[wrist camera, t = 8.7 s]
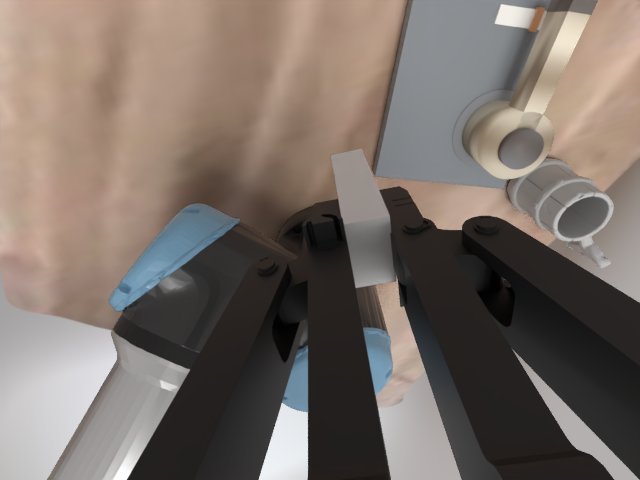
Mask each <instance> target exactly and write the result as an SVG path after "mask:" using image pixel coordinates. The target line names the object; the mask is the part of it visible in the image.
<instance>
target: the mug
mask: <svg viewBox="0 0 640 480" xmlns="http://www.w3.org/2000/svg"><path fill="white" fill-rule="evenodd" d="M507 192H508V195H509V198H510V199H511V202H512V204H513V206H514V207H515V208H516V209H517V210H518V211H520V212H523V213H525V214H528V215H530V216H531V217H532V218H533V219H534V221H535V223H536V224H537V225H538V226H539V227H540V228H541V229H544V230H547V231H550V232H551V233H552V234H553V235H555V236H556V237H557V238H559V239H560V240H562V241H563V243H564V244H565V245H566V246H567V247H568V248H570V249H574V251H575V252H577V253H579V254H581V255H583V256H585V257H586V258H589V259H591V260H593V261H594V262H595V263H596V264H597V265H598V266H599V267H600V268H603V267H605V266H607V265H609V264H610V263H611V262H610V261H609V260H608V259H607V258H606V257H604V255H603V253H602V251H601V250H600V249H599V248H598V247H597V246H596V245H595V244H594V243H593V241H592V237H591V236H592V235H594V234H595V233H596V232H598V231H599V230H600V229H602V228H603V227H604V226H605V225H606V223H607V222H608V220H609V219H610V218H611V216H612V213H613V209H614V206H613V202H612V201H611V199H610V198H609V197H608V195H606V194H605V193H603V192H602V191H600V190H599V189H598V188H597V186H596V185H595V183H593V181H592V180H591V179H589V178H585V177H581V176H578V175H577V174H575V173H574V172H573V171H572V169H571V168H570V167H569V165H568V164H567V163H565V162H562V161H560V160H557V159H551V158H545V159H544V160H543V161H542V163H541V164H540V165H539V166H538V167H536V168H535V169H534V170H532V171H531V172H529V173H528V174H526V175H523V176H521V177H518V178H514V179H511V180H510V181H509V184H508V187H507Z"/></svg>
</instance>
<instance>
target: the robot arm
mask: <svg viewBox="0 0 640 480" xmlns="http://www.w3.org/2000/svg"><path fill="white" fill-rule="evenodd" d="M331 159H332V165H333V171H334V177H335V183H336V189H337V195H338V199H336V200H331V201H326V202H321V203H316V204H315V205H314V206H313V207H310V208H307V209H305V210H302V211H300V212H298V213H297V214H295V215H294V216H292V217H291V218H290V219H289V220H288V221H287V222H286V223H285V224H284V226H283V227H282V229H281V230H280V232H279V235H278V238H277V242H275V241H273V240H272V239H270V238H268V237H266V236H265V235H263V234H261V233H259V232H258V231H256V230H254V229H252V228H250V227H249V226H247V225H245V224H243V223H242V222H240V221H241V220H240V219H239V218H232V217H230V216H228V215H226V214H224V213H222V212H220V211H218V210H216V209H214V208H212V207H211V206H209V205H206V204H201V203H195V204H191V205H188V206H186V207H185V208H183V209H182V210H181V211H180V212H179V213H178V214H177V215H176V216H175V217H174V218H173V219H172V220H171V221H170V222H169V223H168V224H167V225H166V226H165V228H164V229H163V230H162V231H161V232H160V233H159V234H158V236H157V237H156V238H155V239H154V240H153V241H152V243H151V244H150V245H149V246H148V247H147V248H146V250H145V251H144V252H143V253H142V255H141V256H140V257H139V258H138V260H137V261H136V262H135V263H134V265H133V266H132V267H131V268H130V270H129V271H128V272H127V274H126V275H125V278H124V279H123V280H122V281H121V283H120V284H119V286H118V287H117V288H116V289H115V290H114V291H113V293H112V294H111V296H110V298H109V303H110V305H111V306H112V307H113V308H114V310H115V311H118V312H120V311H123V313H122V315H121V316H120V318H119V320H118V321H117V323H116V325H115V326H114V328H113V330H112V331H111V336H112V339H113V342H114V345H115V348H116V351H117V361H116V363H115V364H114V366H113V368H112V370H111V371H110V373H109V374H108V376H107V378H106V380H105V381H104V383H103V385H102V386H101V388H100V390H99V392H98V393H97V395H96V397H95V398H94V400H93V402H92V404H91V405H90V407H89V409H88V411H87V413H86V414H85V416H84V417H83V419H82V421H81V423H80V424H79V426H78V428H77V429H76V431H75V433H74V435H73V436H72V438H71V440H70V441H69V443H68V445H67V446H66V448H65V450H64V452H63V453H62V455H61V457H60V458H59V460H58V462H57V464H56V465H55V467H54V469H53V471H52V472H51V474H50V476H49V477H48V479H47V480H258V479H259V476H260V473H261V469H262V466H263V463H264V459H265V456H266V453H267V450H268V446H269V443H270V439H271V436H272V433H273V430H274V427H275V423H276V420H277V417H278V413H279V410H280V407H281V403H284V404H285V405H287V406H289V407H291V408H293V409H296V410H299V411H303V412H308V480H391V477H390V472H389V466H388V460H387V455H386V450H385V444H384V439H383V434H382V428H381V423H380V417H379V412H378V406H377V401H376V394H378V393H379V392H380V391H381V390H382V389H383V388H384V387H385V385H386V384H387V383H388V381H389V379H390V377H391V374H392V368H393V361H392V355H391V349H390V344H391V339H390V336H389V335H388V332H387V328H386V325H385V321H384V317H383V313H382V309H381V306H380V302H379V298H378V294H377V290H376V287H375V285H376V284H382V283H388V282H394V281H396V275H397V278H398V286H399V296H400V307H403V306H404V307H405V310H406V313H407V316H408V319H409V322H410V325H411V328H412V331H413V334H414V337H415V340H416V343H417V346H418V349H419V352H420V355H421V359H422V362H423V365H424V368H425V371H426V373H427V376H428V380H429V383H430V385H431V388H432V391H433V395H434V398H435V400H436V403H437V406H438V409H439V412H440V416H441V419H442V422H443V425H444V428H445V431H446V433H447V436H448V440H449V442H450V445H451V449H452V452H453V455H454V457H455V460H456V463H457V467H458V470H459V472H460V476H461V479H462V480H614V479H613V478H612V476H611V475H610V474H609V472H608V471H607V470H606V468H605V467H604V466H603V465H602V464H601V463H600V462H599V461H598V460H596V459H595V458H594V457H593V456H592V455H590V454H587V453H585V452H582V451H579V450H577V449H576V448H575V447H574V446H573V445H572V444H571V443H570V441H569V440H568V439H567V437H566V436H565V434H564V433H563V431H562V429H561V428H560V426H559V425H558V423H557V421H556V420H555V418H554V416H553V415H552V413H551V412H550V410H549V408H548V407H547V405H546V404H545V402H544V400H543V399H542V397H541V395H540V394H539V392H538V391H537V389H536V388H535V386H534V384H533V383H532V381H531V380H530V378H529V376H528V375H527V373H526V371H525V370H524V368H523V366H522V365H521V363H520V361H519V360H518V358H517V357H516V355H515V353H514V352H513V350H514V351H515V352H516V353H517V354H518V355H519V356H520V357H521V358H522V359H523V360H524V361H525V362H526V363H527V364H528V365H529V366H530V367H531V368H532V369H533V370H534V371H535V372H536V374H538V376H539V377H541V379H542V380H543V381H544V382H545V383H546V384H547V385H548V386H549V387H550V388H551V389H552V390H553V391H554V392H555V393H556V394H557V395H558V396H559V397H560V398H561V399H562V400H563V401H564V402H565V403H566V404H567V405H568V406H569V407H570V409H571V410H572V411H573V412H574V413H575V414H577V416H578V417H579V418H580V419H581V420H582V421H583V422H584V423H585V424H586V425H587V426H588V427H589V428H590V429H591V430H592V431H593V432H594V433H595V434H596V435H597V436H598V437H599V438H600V439H601V440H602V441H603V442H604V443H605V444H606V446H608V448H609V449H610V450H611V451H612V452H613V453H614V454H615V455H616V456H617V457H618V458H619V459H620V460H621V461H622V462H623V463H624V464H625V465H626V466H627V467H628V468H629V469H630V470H631V471H632V472H633V473H634V474H635V475H636V476H637V477H638V479H640V303H639V302H637V301H636V300H634V299H632V298H631V297H629V296H627V295H626V294H624V293H623V292H621V291H619V290H617V289H616V288H614V287H613V286H611V285H609V284H608V283H606V282H604V281H603V280H601V279H600V278H598V277H596V276H595V275H593V274H591V273H590V272H588V271H587V270H585V269H583V268H581V267H580V266H578V265H577V264H575V263H574V262H572V261H570V260H569V259H567V258H565V257H564V256H562V255H560V254H559V253H557V252H556V251H554V250H552V249H550V248H549V247H547V246H546V245H544V244H543V243H541V242H539V241H538V240H536V239H534V238H533V237H531V236H529V235H528V234H526V233H525V232H523V231H521V230H520V229H518V228H516V227H515V226H513V225H512V224H510V223H508V222H507V221H505V220H502V219H500V218H498V217H492V216H478V217H473V218H470V219H468V220H466V221H465V222H464V224H463V225H462V230H442V229H437V227H436V226H435V224H434V223H433V222H432V221H431V220H429V219H426V218H423V217H422V215H421V213H420V212H419V210H418V208H417V206H416V205H415V203H414V201H413V200H412V198H411V196H410V195H409V193H408V191H407V190H405V189H403V188H401V187H399V186H398V187H393V188H388V189H383V190H379V189H378V186H377V184H376V182H375V179H374V177H373V175H372V172H371V170H370V167H369V165H368V163H367V160H366V158H365V156H364V153H363V151H362V149H358V150H353V151H348V152H343V153H338V154H334V155H331ZM395 272H396V274H395ZM511 348H512V349H513V350H512V349H511Z"/></svg>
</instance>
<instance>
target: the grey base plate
mask: <svg viewBox="0 0 640 480" xmlns="http://www.w3.org/2000/svg"><path fill="white" fill-rule="evenodd" d="M550 2H551V0H408V4H407V9H406V14H405V18H404V23H403V28H402V33H401V37H400V42H399V47H398V52H397V57H396V61H395V66H394V71H393V76H392V80H391V85H390V90H389V95H388V100H387V104H386V109H385V114H384V119H383V123H382V128H381V133H380V138H379V143H378V147H377V152H376V157H375V162H374V166H373V173H374V175H375V177H385V178H396V179H406V180H416V181H427V182H437V183H447V184H458V185H468V186H479V187H489V188H499V189H503V188H504V186H505V184H506V182H507V179H500V178H497V177H495V176H493V175H491V174H490V173H489V172H488V171H487V170H485V169H484V168H483V167H482V166H481V165H480V164H478V163H477V162H476V161H475V160H474V159H473V158H471V157H470V156H469V155H468V154H467V153H466V151H465V150H464V147H463V144H462V134H463V130H464V127H465V124H466V123H467V121H468V119H469V118H470V116H471V115H472V114H473V113H474V112H475V111H476V110H477V109H478V108H480V107H481V106H483V105H484V104H487V103H489V102H492V101H495V100H507V101H510V100H511V98H512V95H513V93H514V91H515V88H516V86H517V83H518V81H519V79H520V76H521V74H522V71H523V69H524V66H525V64H526V62H527V59H528V57H529V54H530V52H531V50H532V47H533V45H534V42H535V40H536V37H537V35H538V33H539V30H540V28H541V25H542V23H543V21H544V18H545V16H546V13H547V12H546V11H547V9H548V6H549V4H550Z"/></svg>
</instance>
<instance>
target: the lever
mask: <svg viewBox="0 0 640 480" xmlns="http://www.w3.org/2000/svg"><path fill="white" fill-rule="evenodd" d="M597 2H598V0H551V2H550V4H549V6H548V9H547V11H546V12H547V13H546V16H545V18H544V21H543V23H542V25H541V28H540V30H539V33H538V35H537V37H536V40H535V42H534V45H533V47H532V50H531V52H530V54H529V57H528V59H527V62H526V64H525V66H524V69H523V71H522V74H521V76H520V79H519V81H518V83H517V86H516V88H515V91H514V93H513V95H512V98H511V100H510V101H507V100H495V101H492V102H489V103H487V104H484V105H483V106H481V107H480V108H478V109H477V110H476V111H475V112H474V113H473V114H472V115H471V116H470V118H469V119H468V121H467V123H466V124H465V127H464V130H463V134H462V144H463V147H464V150H465V151H466V153H467V154H468V155H469V156H470V157H471V158H473V159H474V160H475V161H476V162H477V163H478V164H480V165H481V166H482V167H483V168H484V169H485V170H487V171H488V172H489V173H490V174H491V175H493V176H495V177H497V178H500V179H514V178H518V177H521V176H523V175H526V174H528V173H529V172H531V171H532V170H534V169H535V168H536V167H538V166H539V165H540V164H541V163H542V161H543V160H544V159H545V158H546V156H547V155H548V153H549V151H550V149H551V147H552V144H553V139H554V131H553V127H552V124H551V122H550V121H549V119H548V118H546V117H545V116H544V115H543V113H544V111H545V109H546V107H547V105H548V103H549V101H550V99H551V97H552V95H553V92H554V90H555V88H556V86H557V84H558V82H559V80H560V78H561V76H562V73H563V71H564V69H565V67H566V65H567V63H568V61H569V59H570V57H571V54H572V52H573V50H574V48H575V46H576V44H577V42H578V40H579V38H580V36H581V33H582V31H583V29H584V27H585V25H586V23H587V21H588V19H589V17H590V15H591V14H592V12H593V10H594V8H595V6H596V4H597Z"/></svg>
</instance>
